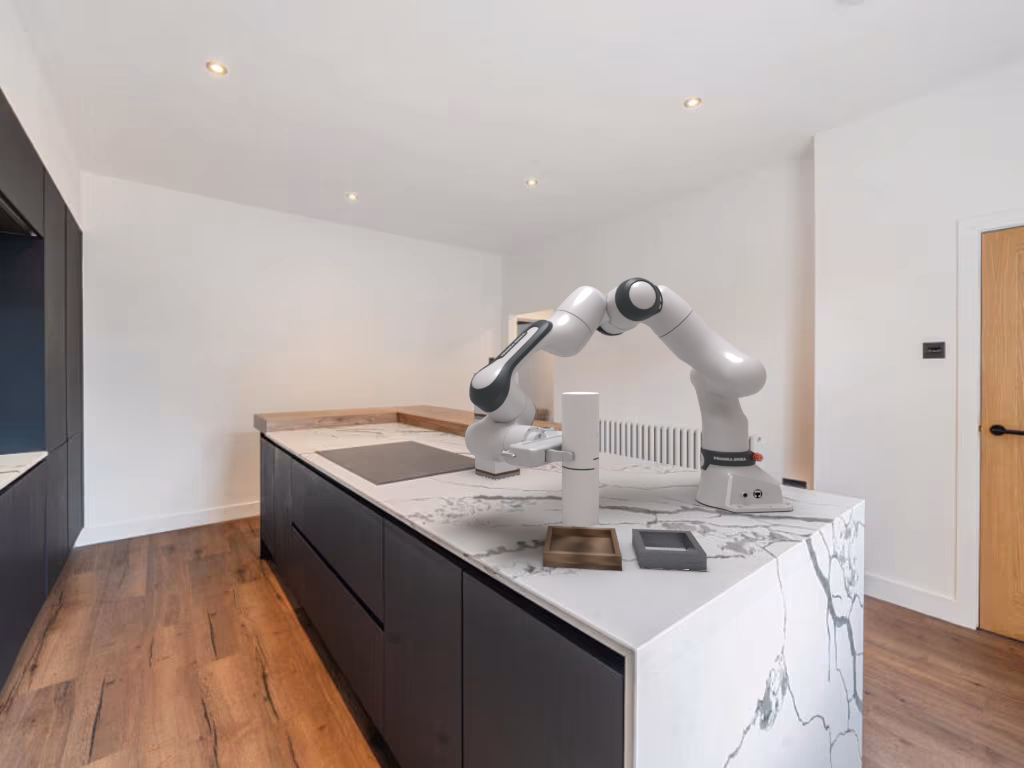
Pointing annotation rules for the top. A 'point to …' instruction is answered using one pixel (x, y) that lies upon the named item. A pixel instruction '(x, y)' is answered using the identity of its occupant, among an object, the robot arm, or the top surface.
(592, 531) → the walnut tray
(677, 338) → the robot arm
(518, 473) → the banded white pillar
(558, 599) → the top surface
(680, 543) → the gray square tray
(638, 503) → the top surface
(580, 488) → the cylindrical container
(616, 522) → the top surface
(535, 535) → the top surface
